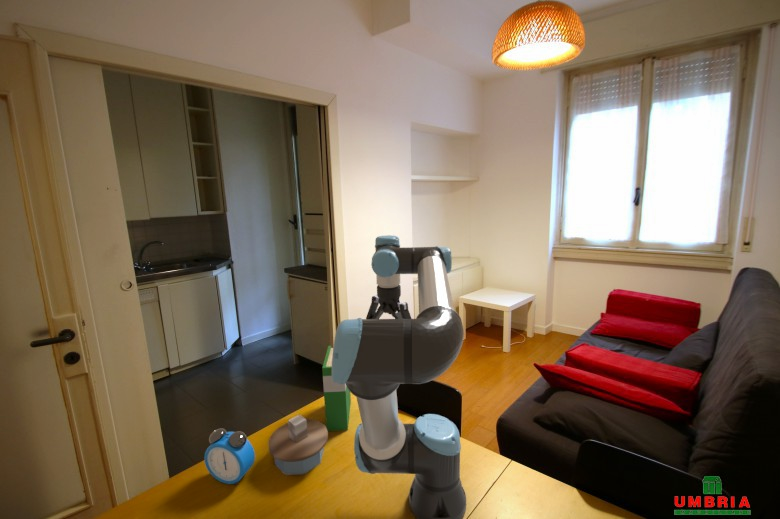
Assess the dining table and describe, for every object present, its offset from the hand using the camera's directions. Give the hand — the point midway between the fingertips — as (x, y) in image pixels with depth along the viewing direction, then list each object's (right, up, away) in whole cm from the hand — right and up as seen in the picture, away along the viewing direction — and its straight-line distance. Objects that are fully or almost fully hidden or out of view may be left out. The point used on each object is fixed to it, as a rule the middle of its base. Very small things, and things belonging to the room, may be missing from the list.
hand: (390, 347), depth 119 cm
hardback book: (-19, -30, +17) cm, 39 cm away
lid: (-29, -28, -5) cm, 40 cm away
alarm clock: (-47, -36, -11) cm, 60 cm away
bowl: (-29, -34, -4) cm, 45 cm away
